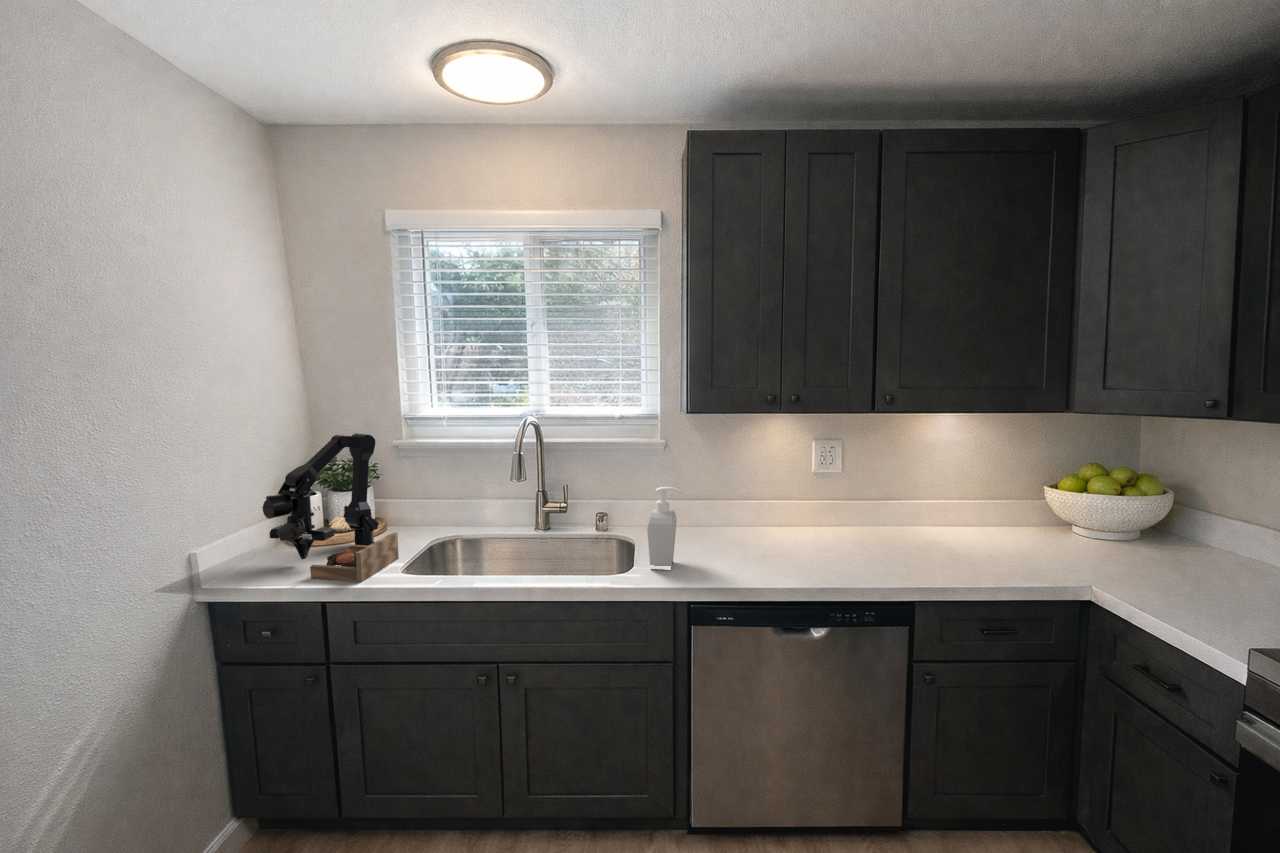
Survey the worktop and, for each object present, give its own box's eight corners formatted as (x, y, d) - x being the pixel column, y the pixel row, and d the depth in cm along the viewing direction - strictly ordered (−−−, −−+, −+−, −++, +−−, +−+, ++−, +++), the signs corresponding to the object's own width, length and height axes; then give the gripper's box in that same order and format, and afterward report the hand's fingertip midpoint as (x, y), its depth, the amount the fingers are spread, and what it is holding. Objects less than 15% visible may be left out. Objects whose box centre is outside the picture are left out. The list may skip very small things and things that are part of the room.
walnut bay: (352, 556, 207) (350, 530, 206) (398, 558, 205) (397, 532, 204) (310, 579, 186) (309, 550, 185) (361, 582, 184) (360, 553, 183)
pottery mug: (327, 583, 185) (320, 557, 187) (334, 586, 193) (328, 561, 195) (369, 568, 189) (362, 542, 190) (374, 571, 197) (367, 547, 199)
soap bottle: (679, 573, 193) (680, 492, 190) (646, 571, 194) (647, 491, 191) (681, 560, 205) (682, 483, 202) (651, 558, 206) (651, 482, 203)
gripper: (254, 516, 189) (258, 566, 191) (311, 519, 186) (314, 569, 188) (280, 507, 200) (283, 554, 202) (334, 510, 197) (336, 557, 199)
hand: (303, 559), depth 197 cm, fingers closed
